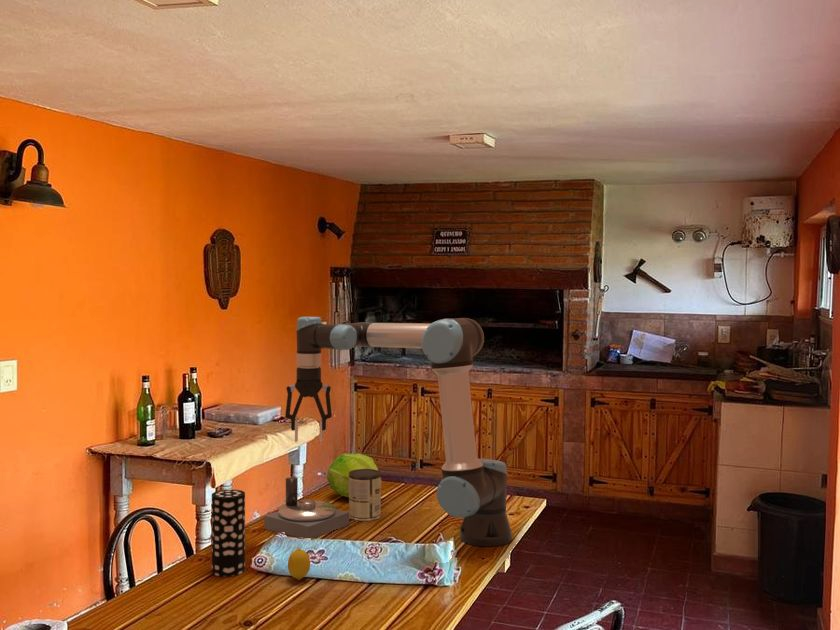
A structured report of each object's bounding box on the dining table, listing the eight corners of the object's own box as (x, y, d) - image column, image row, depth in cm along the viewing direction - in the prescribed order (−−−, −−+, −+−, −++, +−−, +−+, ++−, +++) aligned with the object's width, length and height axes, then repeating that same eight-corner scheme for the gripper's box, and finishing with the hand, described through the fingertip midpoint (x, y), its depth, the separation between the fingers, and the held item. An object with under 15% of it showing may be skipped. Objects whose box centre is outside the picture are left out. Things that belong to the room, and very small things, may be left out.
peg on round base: (346, 511, 246) (347, 480, 245) (308, 524, 232) (308, 492, 231) (305, 502, 255) (305, 472, 255) (266, 514, 241) (266, 483, 241)
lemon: (285, 577, 202) (285, 546, 202) (307, 575, 204) (307, 543, 204) (290, 585, 197) (290, 553, 197) (312, 582, 199) (312, 550, 199)
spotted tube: (251, 568, 208) (251, 492, 207) (228, 579, 201) (228, 499, 200) (228, 562, 212) (228, 487, 211) (204, 572, 205) (204, 495, 204)
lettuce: (358, 514, 265) (358, 470, 262) (318, 496, 278) (317, 455, 275) (393, 498, 278) (393, 457, 275) (353, 482, 291) (353, 442, 288)
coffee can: (351, 511, 261) (351, 468, 260) (383, 512, 260) (383, 469, 259) (345, 520, 251) (345, 475, 250) (378, 521, 250) (378, 476, 249)
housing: (349, 525, 246) (349, 512, 246) (308, 540, 231) (308, 526, 231) (305, 514, 256) (305, 502, 256) (264, 528, 242) (264, 515, 241)
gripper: (341, 365, 253) (340, 438, 254) (277, 365, 251) (277, 438, 252) (340, 368, 245) (340, 442, 246) (275, 368, 244) (275, 443, 245)
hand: (308, 440), depth 249 cm, fingers open, 7 cm apart
